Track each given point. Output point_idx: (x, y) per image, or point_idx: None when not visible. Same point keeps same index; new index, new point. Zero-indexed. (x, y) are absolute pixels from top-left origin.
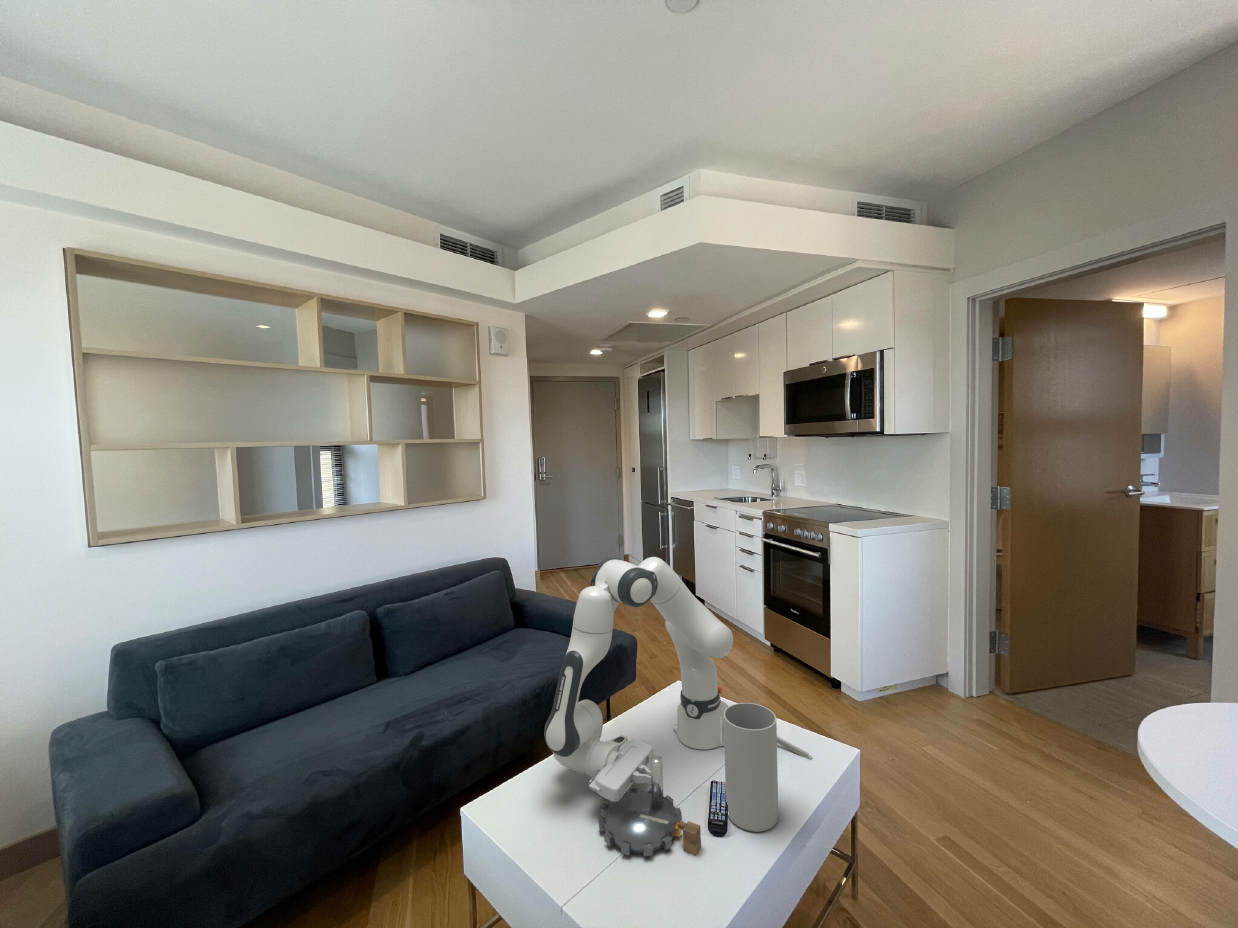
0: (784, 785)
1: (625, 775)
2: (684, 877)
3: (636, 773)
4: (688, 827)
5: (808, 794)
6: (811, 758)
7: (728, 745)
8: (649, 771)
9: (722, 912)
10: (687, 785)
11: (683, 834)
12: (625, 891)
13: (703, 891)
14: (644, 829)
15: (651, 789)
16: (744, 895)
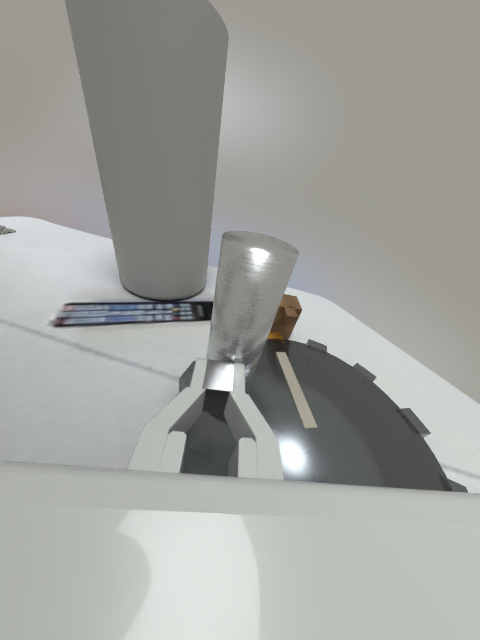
0: (88, 255)
1: (387, 518)
2: (326, 333)
3: (261, 452)
4: (291, 304)
5: (111, 245)
6: (12, 230)
7: (201, 116)
8: (198, 380)
9: (327, 301)
10: (69, 372)
11: (298, 317)
12: (429, 399)
13: (322, 315)
14: (338, 394)
15: (246, 385)
16: (294, 290)
